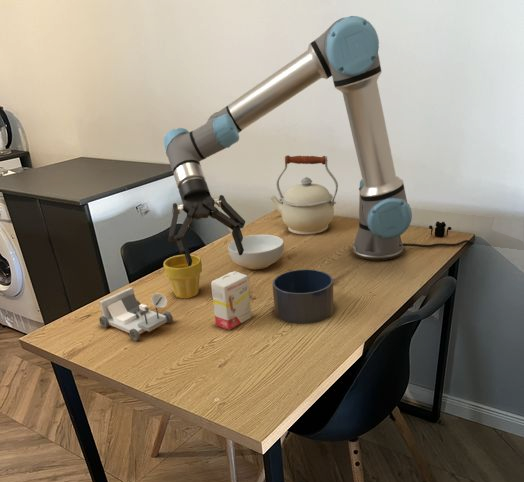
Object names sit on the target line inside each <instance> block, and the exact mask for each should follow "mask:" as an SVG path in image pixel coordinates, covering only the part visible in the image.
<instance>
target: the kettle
mask: <svg viewBox="0 0 524 482" xmlns="http://www.w3.org/2000/svg"><path fill="white" fill-rule="evenodd" d="M328 160H329V159H328V156H326V155H322V156H316V155H310V156H309V155H294V156H293V155H292V156H290V155H289V154H287V155H285V156H284V169H283V170H282V172H281V173H280V175H278V178H277V180H276V190H277V192H278V195H279V197H280V199H278V198H277V196H276V195H275V194H274V195H270V196H269V199H270V200H271V202H272V204H273V205H274V207H275V208H276V210H277V211H278V213H279V214H280V215H281V218H282V221H283V223H284V224H285V226H287V228H288V231H289V232H291V233H292V234H296V235H305V236H306V235H307V236H309V235H316V234H320V233H322V232H325V231H326V230H327V229H329V224H330V223H331V221H332V220H333V219H334V215H335V208H334V206H335V205H336V204H337V201H335V199H336V196H337V193H338V190H339V184H338V181H337V179H336V177H335V176H334V175H333V172H331V170H330V169H329V167H328ZM289 164H296V165H301V164H302V165H318V164H322V165H324V166H325V168H324V169H325V171H326V172H327V174H328V175H329V176H330V178H331V179H332V180H333V182H334V185H335V191H334V195H333V194H331V193H330V191H329V190H328V188H327V187H325V186H324V185H321V184H319V183H313V180H312V179H311V178H310V177H308V176H305V177H303V178H302V179H301V181H300V184H296V185H294V186H292V187H290V188H289V189H287V190H286V192H285V193H284V196H283V194H282V190H281V188H280V180H281V177H282V176H283V175H284V173H285V171H286V170H287V168H288V165H289Z"/></svg>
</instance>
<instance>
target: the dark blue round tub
mask: <svg viewBox="0 0 524 482" xmlns="http://www.w3.org/2000/svg"><path fill="white" fill-rule="evenodd" d="M271 284H272V293H273V294H272V296H273V309H274V314H275V316H276V317H277V318H278V319H280V320H282V321H284V322H287V323H291V324H313V323H318V322H320V321H323V320H325V319H327V318H329V317H330V316H331V315H332V314H333V313H334V278H333V276H332V275H331V274H329V273H328V272H325V271H322V270H318V269H310V268H304V269H294V270H288V271H286V272H285V271H284V272H282V273H280V274H278V275H277V276H276V277H275V278H273V280H272V283H271Z"/></svg>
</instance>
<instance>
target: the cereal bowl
mask: <svg viewBox="0 0 524 482" xmlns="http://www.w3.org/2000/svg"><path fill="white" fill-rule="evenodd" d="M241 243H242V246H243V249H244V251H243V254H242V255H239V253H238V250H237V247H236V244H235V241H234V239H233V240H231V241H230V242H229V243H228V245H227V251H228V255H229V257H230V259H231V260H232V261H233V262H234V263H235V264H236V265H238V266H241V267H244V268H246V269H248V270H262V269H266V268H268V267H270V265H273V264H275V263H276V262H277V261H279V260H280V259H281V257H282V256H283V254H284V251H285V245H284V244H285V242H284V239H283V238H281V237H279V236H278V235H274V234H261V233H260V234H250V235H245V236H243V240H242V242H241Z"/></svg>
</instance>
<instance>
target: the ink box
mask: <svg viewBox="0 0 524 482" xmlns="http://www.w3.org/2000/svg"><path fill="white" fill-rule="evenodd" d="M249 285H250V284H249V275H248V274H245V273H241V272H239V271H234V270H233V271H231V272H228V273H226V274H224V275H222V276H220V277H218V278H216V279H213V280H212V281H211V283H210V286H211V294H212V295H211V297H212V304H213V312H214V320H215V321H214V322H215V326H216V327H220V328H221V329H225V330H228V331H231V330H232V329H235V328H236V327H237V326H239V325H241V324H243V323H245V322H246V321H248V320H249V319H251V318H252V306H251V297H250V296H251V295H250V286H249Z"/></svg>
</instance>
